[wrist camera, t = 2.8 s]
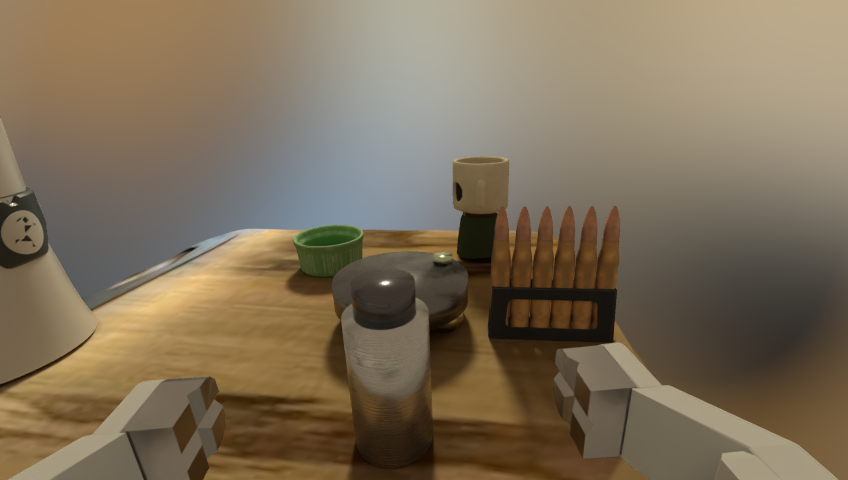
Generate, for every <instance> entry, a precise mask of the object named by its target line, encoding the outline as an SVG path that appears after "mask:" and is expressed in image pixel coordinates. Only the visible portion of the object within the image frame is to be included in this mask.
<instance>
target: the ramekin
mask: <svg viewBox="0 0 848 480" xmlns="http://www.w3.org/2000/svg"><path fill="white" fill-rule="evenodd" d="M363 236H364V234H363V231H362V230H361V229H360V228H357V227H354V226H349V225H330V226H321V227H316V228H313V229H309V230H306V231H303V232H301V233H299V234H297V235H296V236H295V237H294V239H293V242H294V245H295V247H296V249H297V253H298V257H299V262H300V266H301V269H302V271H303V272H304V273H306V274H308V275H311V276H316V277H332V276H335V275H336V273H337V272H338V271H340V270H341V269H342V268H344V267H345V266H347V265H349V264H350V263H353V262H355V261H357V260H360V259H362V240H363Z"/></svg>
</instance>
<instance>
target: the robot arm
mask: <svg viewBox="0 0 848 480" xmlns="http://www.w3.org/2000/svg"><path fill="white" fill-rule="evenodd" d="M97 324H98V319H97V317H96V316H95V315H94V314H93V313H92V312H91V310H90V309H89V308H88V307H87V306H86V304H85V303H84V302H83V300H82V299H81V297H80V296H79V294H78V293H77V291H76V290H75V288H74V287H73V285H72V283H71V282H70V280H69V278H68V277H67V275H66V273H65V271H64V270H63V268H62V266H61V264H60V262H59V260H58V259H57V257H56V255H55V254H54V252H53V250H52V249H51V247H50V245H49V243H48V235H47V229H46V221H45V219H44V216H43V214H42V211H41V207H40V204H39V201H37V199H36V196H35V194H34V191H33V190H31V189H29V188H27V187H25V184H24V182H23V179H22V176H21V173H20V171H19V168H18V165H17V162H16V160H15V157H14V154H13V151H12V148H11V146H10V143H9V140H8V137H7V134H6V132H5V129H4V126H3V123H2V120H1V118H0V384H2V383H5V382H8V381H10V380H13V379H15V378H18V377H20V376H23V375H25V374H27V373H29V372H32V371H34V370H36V369H38V368H40V367H42V366H44V365H46V364H48V363H50V362H52V361H54V360H56V359H58V358H59V357H61V356H63V355H64V354H66V353H68V352H69V351H71V350H72V349H74V348H75V347H77V346H78V345H80V344H81V343H82V342H83V341H85V340H86V339H87V338H88V337H89V336H90V335H91V334H92V333H93V332H94V330H95V329H96V327H97ZM555 364H556V366H557V367H558V369H559V371H560V372H559V373H558V374H557V375H556V377H555V378H554V386H553V391H554V398H555V403H556V406H557V409H558V412H559V414H560V416H561V418H562V419H563V420H564V421H566V422H567V423H569V424H570V425H571V430H570V435H571V437H572V439H573V441H574V443H575V444H576V446H577V448H578V450H579V452H580V454H581V456H582V458H598V457H613V456H621V458H622V459H623V460H624V461H625V462H627V463H628V464H629V465H631V466H632V467H633V468H634V469H636V470H637V471H639V472H640V473H641V474H642V475H643V476H644V477H646V478H647V479H648V480H838V479H837V478H836V477H835V476H834V475H832V474H831V473H830V472H829V471H828V470H827V469H825V468H824V467H823V466H822V465H821V464H819V462H817V461H816V460H815V459H814V458H813V457H812V456H810V455H809V454H808V453H807V452H806V451H805V450H803V449H802V448H801V447H800V446H799V445H797V444H795V443H793V442H791V441H789V440H787V439H785V438H782V437H780V436H778V435H776V434H774V433H772V432H769V431H767V430H765V429H763V428H760V427H759V426H756V425H754V424H752V423H750V422H748V421H745V420H743V419H741V418H739V417H737V416H735V415H732V414H730V413H728V412H726V411H724V410H722V409H719V408H717V407H715V406H713V405H711V404H708V403H706V402H704V401H702V400H700V399H698V398H695V397H693V396H691V395H689V394H686V393H685V392H682V391H680V390H678V389H676V388H674V387H671V386H669V385H668V386H662V385H661V384H660V383H659V382H658V381H657V380H656V379H655V378H654V376H653V375H652V374H651V373H650V372H649V371H648V370H647V369H646V368H645V367H644V366H643V365H642V364H641V363H640V361H639V360H638V359H637V358H636V357H635V356H634V355H633V354H632V353H631V352H630V351H629V350H628V349H627V348H626V347H625V345H623V344H621V343H619V342H618V343H609V344H600V345H596V346H585V347H574V348H562V349H558V350H557V353H556V358H555ZM218 392H219V390H218V387H217V384H216V381H215V379H213V378H212V377H195V378H178V379H167V380H164V379H163V380H150V381H144V382H141V383H139V384H137V386H136V387H135V388H134V389H133V390H132V391H131V392H130V393H129V394H128V396H127V397H126V398H125V399H124V400H123V401H122V402H121V403H120V404H119V406H118V407H117V408H116V409H115V410H114V411H113V412H112V413H111V414H110V415H109V417H108V418H107V419H106V420H105V421H104V422H103V423H102V424H101V425H100V427H99V428H98V429H97V430H96V431H95V432H94V433H93V434H92V435H90V436H83V437H81V438H80V439H78V440H76V441H74V442H73V443H71V444H69V445H67V446H66V447H64V448H62V449H60V450H59V451H57V452H55V453H54V454H52V455H50V456H48V457H47V458H45V459H43V460H41V461H40V462H38V463H36V464H34V465H33V466H31V467H29V468H27V469H26V470H24V471H22V472H20V473H19V474H17V475H15V476H14V477H12V478H10V479H8V480H203V478H204V476H205V474H206V473H207V471H208V469H209V466H208V462H207V458H209V457H210V456H211V455H212V454H214V453H215V452H216V451H217V450H218V448H219V446H220V444H221V442H222V440H223V436H224V431H225V426H226V423H225V413H224V409H223V406H222V405H220V404H219V403H218V402H217V401H216V400H214V399H215V397H216V395H217V393H218Z"/></svg>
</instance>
